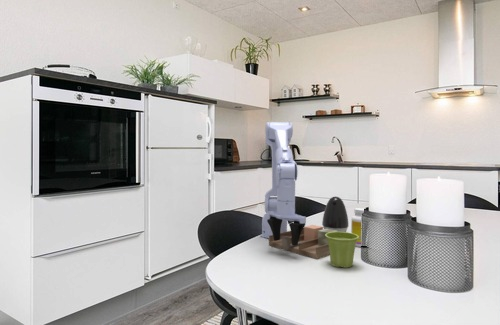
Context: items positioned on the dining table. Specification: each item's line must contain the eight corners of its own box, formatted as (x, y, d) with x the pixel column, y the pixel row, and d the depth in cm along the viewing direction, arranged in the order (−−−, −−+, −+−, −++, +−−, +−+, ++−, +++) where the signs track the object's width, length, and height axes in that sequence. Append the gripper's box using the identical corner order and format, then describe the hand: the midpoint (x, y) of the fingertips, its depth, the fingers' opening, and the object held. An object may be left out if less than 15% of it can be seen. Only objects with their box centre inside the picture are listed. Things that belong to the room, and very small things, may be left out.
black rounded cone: (319, 236, 136) (320, 197, 136) (324, 230, 146) (325, 194, 145) (346, 238, 132) (347, 198, 132) (349, 232, 142) (350, 195, 142)
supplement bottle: (371, 248, 120) (372, 211, 119) (351, 247, 121) (352, 210, 121) (369, 243, 126) (369, 208, 126) (350, 242, 127) (350, 207, 127)
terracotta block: (277, 248, 113) (277, 232, 113) (312, 238, 126) (312, 224, 126) (288, 251, 110) (288, 235, 110) (322, 241, 123) (323, 226, 122)
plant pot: (340, 272, 96) (340, 240, 95) (318, 262, 104) (318, 233, 104) (365, 267, 100) (365, 237, 100) (342, 258, 108) (342, 230, 108)
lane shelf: (268, 245, 122) (269, 227, 121) (297, 238, 133) (297, 221, 132) (317, 259, 107) (317, 238, 107) (345, 249, 118) (345, 230, 118)
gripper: (261, 199, 114) (260, 240, 114) (295, 204, 104) (295, 249, 104) (275, 197, 119) (275, 236, 119) (310, 201, 109) (309, 245, 109)
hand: (285, 242), depth 112 cm, fingers open, 7 cm apart
